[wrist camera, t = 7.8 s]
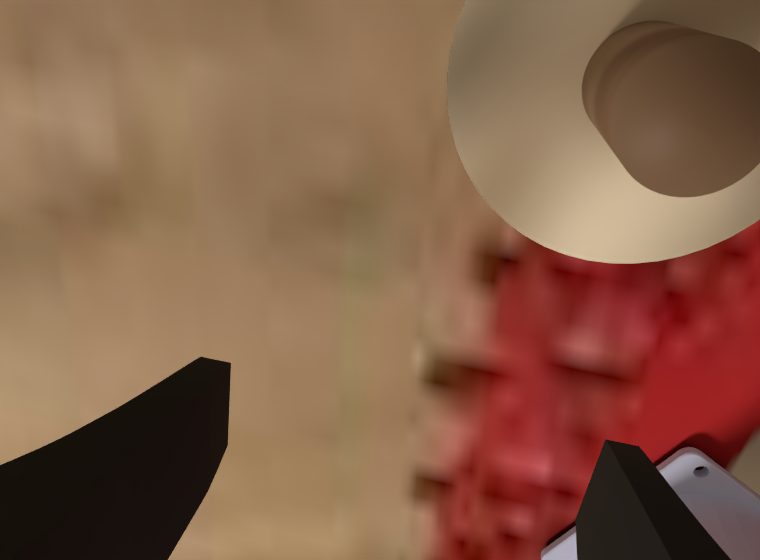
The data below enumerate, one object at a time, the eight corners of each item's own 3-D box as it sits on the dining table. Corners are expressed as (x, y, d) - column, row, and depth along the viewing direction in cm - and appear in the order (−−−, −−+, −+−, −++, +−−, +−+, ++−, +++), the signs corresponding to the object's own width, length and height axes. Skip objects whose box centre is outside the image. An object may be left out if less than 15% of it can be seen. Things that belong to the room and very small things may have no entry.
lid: (936, 50, 14) (1141, 85, 9) (624, 312, 17) (670, 423, 13) (651, -250, 12) (738, -369, 8) (376, 103, 16) (336, 150, 12)
